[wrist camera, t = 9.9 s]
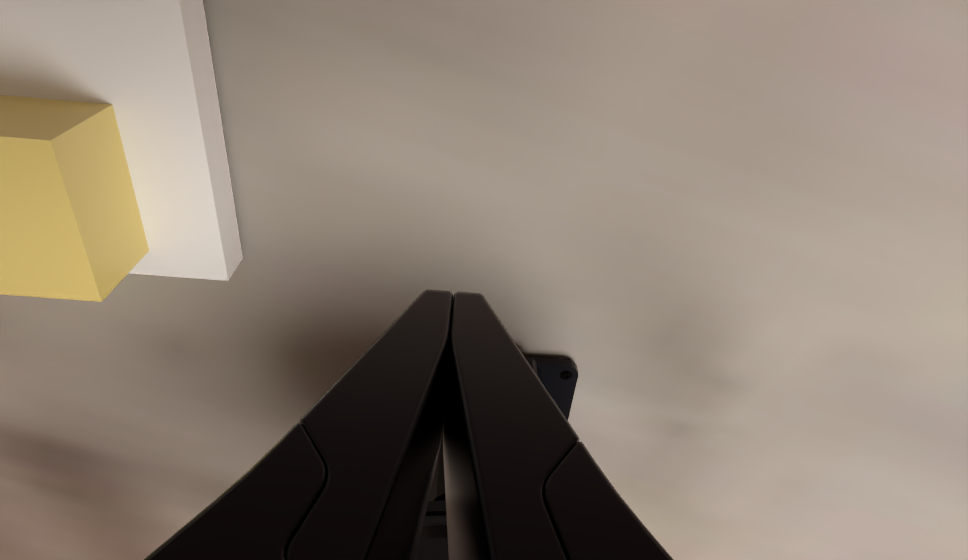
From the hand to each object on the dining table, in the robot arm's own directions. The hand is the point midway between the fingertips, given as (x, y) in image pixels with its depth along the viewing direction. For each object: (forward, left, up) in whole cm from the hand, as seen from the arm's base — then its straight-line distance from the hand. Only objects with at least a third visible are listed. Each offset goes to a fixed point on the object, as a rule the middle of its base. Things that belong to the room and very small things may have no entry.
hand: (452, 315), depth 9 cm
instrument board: (0, +18, -12) cm, 22 cm away
